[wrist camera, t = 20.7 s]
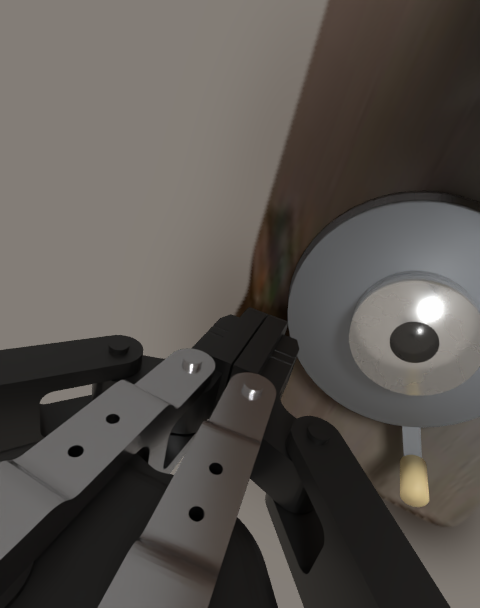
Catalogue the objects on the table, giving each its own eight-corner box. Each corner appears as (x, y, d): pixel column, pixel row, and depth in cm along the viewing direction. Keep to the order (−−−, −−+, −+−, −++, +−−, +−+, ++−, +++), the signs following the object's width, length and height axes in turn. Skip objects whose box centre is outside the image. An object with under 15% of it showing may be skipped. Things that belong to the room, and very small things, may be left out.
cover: (332, 299, 35) (327, 313, 33) (449, 249, 30) (454, 261, 28) (382, 389, 37) (381, 409, 34) (500, 355, 32) (509, 376, 29)
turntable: (255, 263, 39) (233, 284, 34) (490, 147, 29) (510, 150, 24) (367, 467, 43) (363, 513, 38) (604, 428, 33) (642, 482, 28)
